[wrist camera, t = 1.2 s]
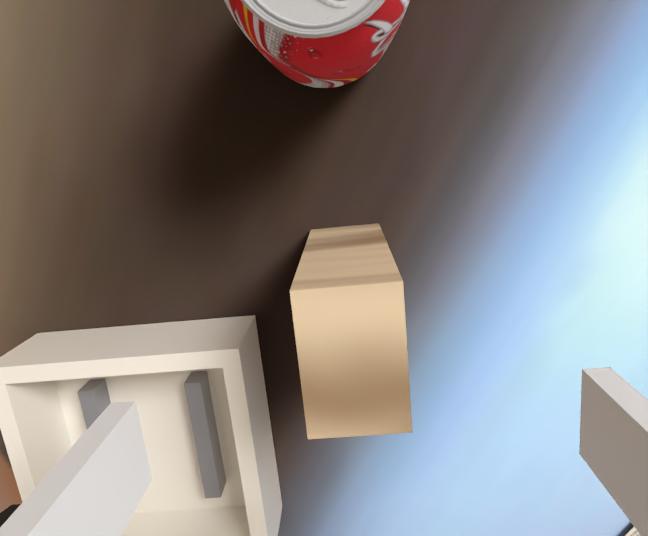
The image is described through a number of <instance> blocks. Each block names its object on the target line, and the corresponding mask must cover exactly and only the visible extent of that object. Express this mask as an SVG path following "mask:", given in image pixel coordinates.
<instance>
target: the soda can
mask: <svg viewBox="0 0 648 536" xmlns="http://www.w3.org/2000/svg"><path fill="white" fill-rule="evenodd" d="M224 1H225V3H226V5H227V8H228V10H229V11H230V13H231V15H232V16H233V18H234V19H235V21H236V23H237V24H238V26H239V27H240V29H241V30H242V32H243V33H244V34H245V36H246V37H247V38H248V39H249V40H250V41H251V42H252V44H253V45H254V46H255V47H256V48H257V49H258V50H259V52H260V53H261V54H262V55H263V56H264V57H265V58H266V59H267V60H268V61H269V62H270V63H271V64H272V65H273V66H275V67H276V68H277V69H278V70H279V71H280V72H282V73H283V74H284V75H285V76H287V77H288V78H290V79H292V80H293V81H295V82H298V83H300V84H303V85H306V86H310V87H315V88H332V87H339V86H342V85H346V84H349V83H351V82H353V81H355V80H357V79H359V78H360V77H362V76H363V75H365V74H366V73H368V72H369V71H370V70H371V69H372V68H373V67H374V66H375V65H376V64H377V63H378V61H379V60H380V59H381V57H382V56H383V55H384V53H385V51H386V50H387V48H388V46H389V44H390V43H391V41H392V39H393V37H394V35H395V33H396V31H397V29H398V27H399V25H400V23H401V21H402V19H403V17H404V14H405V12H406V9H407V7H408V4H409V2H410V0H224Z"/></svg>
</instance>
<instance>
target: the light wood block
mask: <svg viewBox="0 0 648 536" xmlns="http://www.w3.org/2000/svg"><path fill="white" fill-rule="evenodd" d="M290 299H291V307H292V315H293V323H294V331H295V339H296V347H297V356H298V364H299V372H300V380H301V388H302V396H303V404H304V412H305V420H306V429H307V437H308V439H321V438H336V437H351V436H366V435H381V434H396V433H411V432H412V418H411V402H410V386H409V370H408V354H407V338H406V322H405V306H404V290H403V280H402V278H401V275H400V273H399V271H398V268H397V266H396V263H395V261H394V259H393V256H392V254H391V251H390V249H389V247H388V244H387V242H386V239H385V237H384V235H383V232H382V230H381V227H380V225H379V223H378V224H367V225H356V226H345V227H334V228H324V229H313V230H310V233H309V236H308V239H307V242H306V245H305V248H304V251H303V254H302V256H301V259H300V262H299V265H298V268H297V271H296V274H295V277H294V279H293V282H292V285H291V288H290Z"/></svg>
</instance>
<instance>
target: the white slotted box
mask: <svg viewBox="0 0 648 536" xmlns="http://www.w3.org/2000/svg"><path fill="white" fill-rule="evenodd" d="M129 401H136V406H137V410H138V415H139V420H140V424H141V429H142V434H143V438H144V443H145V448H146V452H147V457H148V462H149V467H150V471H151V476H152V481H151V483H150V485H149V486H148V488H147V490H146V492H145V493H144V495H143V497H142V499H141V500H140V502H139V504H138V506H137V508H136V509H135V511H134V513H133V515H132V516H131V518H130V520H129V522H128V523H127V525H126V527H125V529H124V531H123V532H122V534H121V536H278V530H279V524H280V518H281V512H282V499H281V492H280V485H279V478H278V471H277V464H276V457H275V450H274V443H273V437H272V430H271V423H270V416H269V409H268V402H267V395H266V388H265V381H264V374H263V367H262V360H261V353H260V346H259V339H258V332H257V325H256V318H255V315H252V316H240V317H227V318H215V319H203V320H191V321H179V322H167V323H155V324H143V325H130V326H118V327H106V328H94V329H82V330H70V331H58V332H46V333H37V334H36V335H34V336H33V337H31V338H29V339H28V340H26V341H25V342H23V343H22V344H20V345H19V346H17V347H15V348H14V349H12V350H11V351H9V352H8V353H6V354H5V355H3V356H1V357H0V429H1V432H2V436H3V439H4V442H5V446H6V449H7V452H8V456H9V459H10V462H11V466H12V469H13V472H14V476H15V479H16V482H17V486H18V489H19V492H20V496H21V499H22V502H23V501H24V500H25V499H26V498H27V497H28V496H29V495H30V493H31V492H32V491H33V490H34V489H35V488H36V487H37V486H38V484H39V483H40V482H41V481H42V480H43V479H44V478H45V477H46V475H47V474H48V473H49V472H50V471H51V470H52V469H53V468H54V466H55V465H56V464H57V463H58V462H59V461H60V460H61V458H62V457H63V456H64V455H65V454H66V453H67V452H68V451H69V449H70V448H71V447H72V446H73V445H74V444H75V443H76V442H77V440H78V439H79V438H80V437H81V436H82V435H83V434H84V433H85V431H86V430H87V429H88V428H89V427H90V426H91V425H92V424H93V422H94V421H95V420H96V419H97V418H98V417H99V416H100V415H101V413H102V412H103V411H104V410H105V409H106V408H107V407H108V406H109V404H110V403H115V402H129Z"/></svg>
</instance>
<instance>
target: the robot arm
mask: <svg viewBox="0 0 648 536" xmlns="http://www.w3.org/2000/svg"><path fill="white" fill-rule="evenodd" d="M579 454H580V455H581V456H582V458H583V459H584V460H585V462H586V463H587V464H588V466H589V467H590V468H591V470H592V471H593V472H594V474H595V475H596V476H597V478H598V479H599V480H600V482H601V483H602V484H603V486H604V487H605V488H606V490H607V491H608V492H609V494H610V495H611V496H612V497H613V499H614V500H615V501H616V503H617V504H618V505H619V507H620V508H621V509H622V511H623V512H624V513H625V515H626V516H627V517H628V519H629V520H630V521H631V523H632V524H633V525H634V527H635V528H636V529H637V531H638V532H639V533H640V535H641V536H648V399H646V398H645V397H644V396H643V395H642V394H641V393H639V392H638V391H637V390H636V389H635V388H634V387H632V386H631V385H630V384H629V383H628V382H627V381H625V380H624V379H623V378H622V377H621V376H619V375H618V374H617V373H616V372H615V371H614V370H612V369H611V368H610V367H606V368H592V369H582V389H581V421H580V452H579ZM151 481H152V476H151V471H150V467H149V462H148V457H147V452H146V448H145V443H144V438H143V434H142V429H141V424H140V420H139V415H138V410H137V406H136V401H129V402H115V403H110V404H109V406H108V407H107V408H106V409H105V410H104V411H103V412H102V413H101V415H100V416H99V417H98V418H97V419H96V420H95V421H94V422H93V424H92V425H91V426H90V427H89V428H88V429H87V430H86V431H85V433H84V434H83V435H82V436H81V437H80V438H79V439H78V440H77V442H76V443H75V444H74V445H73V446H72V447H71V448H70V449H69V451H68V452H67V453H66V454H65V455H64V456H63V457H62V458H61V460H60V461H59V462H58V463H57V464H56V465H55V466H54V468H53V469H52V470H51V471H50V472H49V473H48V474H47V475H46V477H45V478H44V479H43V480H42V481H41V482H40V483H39V484H38V486H37V487H36V488H35V489H34V490H33V491H32V492H31V493H30V495H29V496H28V497H27V498H26V499H25V500H24V501H23V502H22V504H18V505H11V506H10V507H8V508H7V509H5V510H4V511H3V512H1V513H0V536H121V534H122V532H123V531H124V529H125V527H126V525H127V523H128V522H129V520H130V518H131V516H132V515H133V513H134V511H135V509H136V508H137V506H138V504H139V502H140V500H141V499H142V497H143V495H144V493H145V492H146V490H147V488H148V486H149V485H150V483H151Z"/></svg>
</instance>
